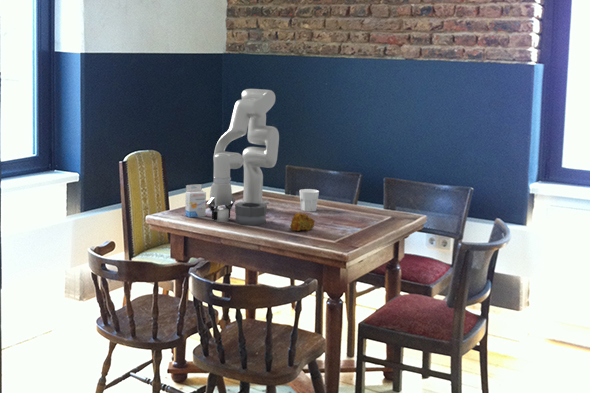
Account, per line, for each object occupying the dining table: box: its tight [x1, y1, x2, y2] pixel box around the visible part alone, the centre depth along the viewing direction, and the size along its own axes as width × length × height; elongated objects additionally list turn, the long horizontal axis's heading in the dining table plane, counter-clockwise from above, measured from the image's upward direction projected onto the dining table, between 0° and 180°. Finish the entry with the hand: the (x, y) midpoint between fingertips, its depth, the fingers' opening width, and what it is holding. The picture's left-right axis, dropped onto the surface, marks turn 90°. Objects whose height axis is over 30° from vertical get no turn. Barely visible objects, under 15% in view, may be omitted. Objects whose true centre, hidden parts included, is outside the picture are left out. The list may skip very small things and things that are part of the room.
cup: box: [299, 188, 320, 212], centre depth 336 cm, size 10×10×10 cm
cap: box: [213, 206, 230, 223], centre depth 305 cm, size 7×7×6 cm
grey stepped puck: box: [234, 201, 268, 226], centre depth 304 cm, size 14×14×8 cm
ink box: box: [184, 183, 207, 218], centre depth 311 cm, size 8×5×15 cm, turn 123°
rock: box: [289, 212, 315, 232], centre depth 293 cm, size 11×8×10 cm
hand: (221, 218), depth 306 cm, fingers closed on cap, 7 cm apart
